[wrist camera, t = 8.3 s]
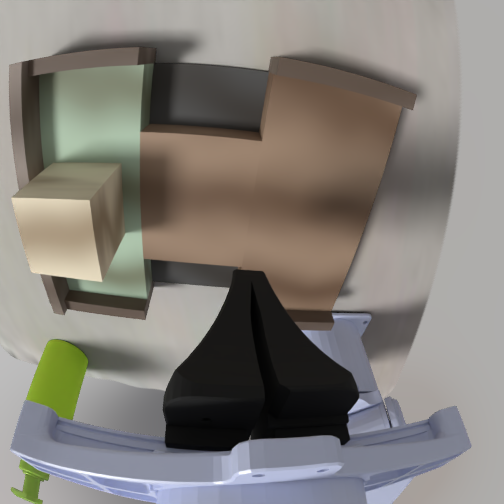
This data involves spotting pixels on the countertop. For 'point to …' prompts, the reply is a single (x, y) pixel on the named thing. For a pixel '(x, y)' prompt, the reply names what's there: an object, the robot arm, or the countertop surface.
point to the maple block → (72, 219)
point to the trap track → (212, 169)
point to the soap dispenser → (53, 398)
